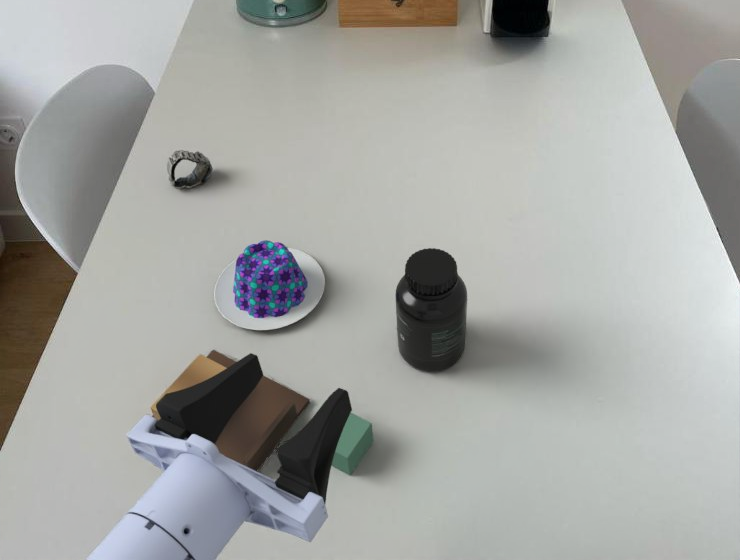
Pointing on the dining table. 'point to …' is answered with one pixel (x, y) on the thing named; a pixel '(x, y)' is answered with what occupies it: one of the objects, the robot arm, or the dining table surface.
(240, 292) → the pudding
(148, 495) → the robot arm
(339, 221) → the dining table surface
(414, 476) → the dining table surface
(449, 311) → the supplement bottle
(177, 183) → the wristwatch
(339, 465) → the green block
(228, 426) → the dock
